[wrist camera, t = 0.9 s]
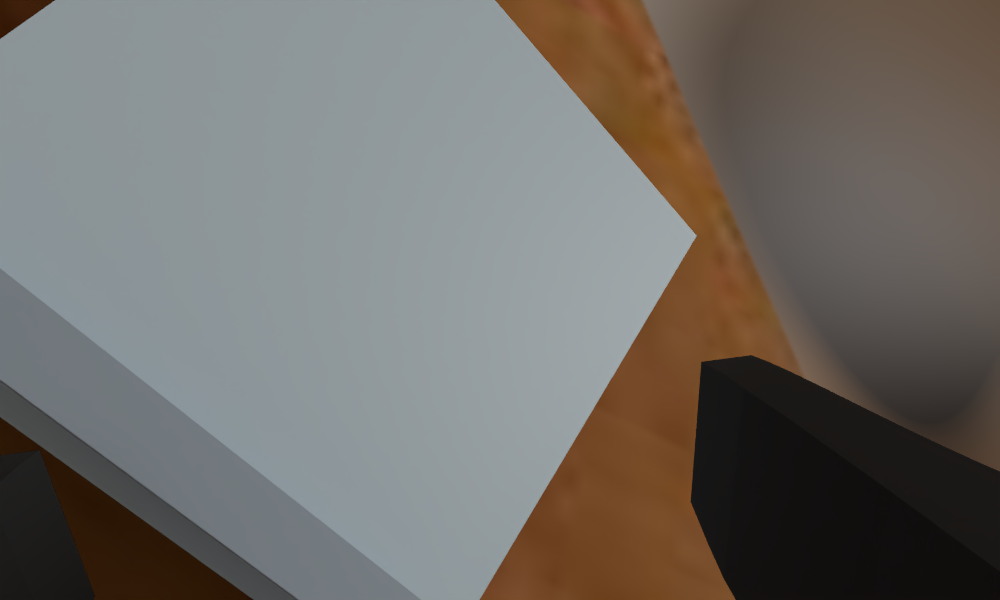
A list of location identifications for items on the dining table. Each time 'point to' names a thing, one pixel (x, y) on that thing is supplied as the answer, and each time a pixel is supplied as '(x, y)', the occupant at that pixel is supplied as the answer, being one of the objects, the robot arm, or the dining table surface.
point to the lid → (314, 278)
